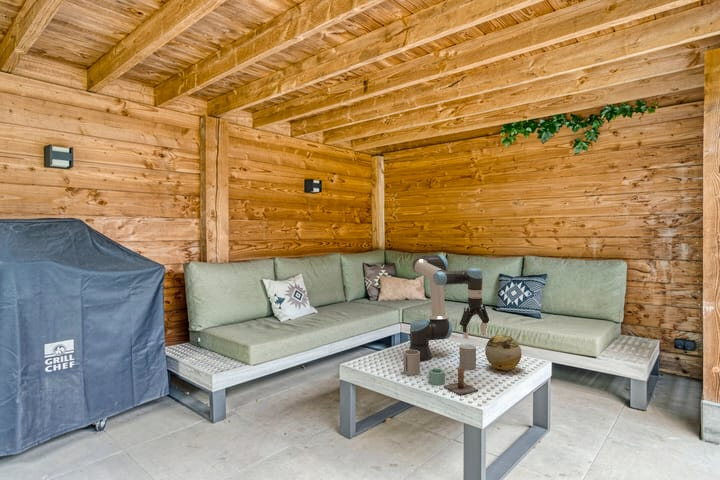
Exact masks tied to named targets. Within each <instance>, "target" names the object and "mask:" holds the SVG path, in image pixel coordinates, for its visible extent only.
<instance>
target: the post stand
mask: <svg viewBox="0 0 720 480" xmlns="http://www.w3.org/2000/svg"><path fill="white" fill-rule="evenodd" d="M443 389H444V390H447V389H448V390H447V391H449V392H452V393H453V392H454V393H453V394H455V393H456V394H455V395H457V394H458V395H457V396H459V395H460V396H459V397H462V396H461V395H463V396H466V395H469V393H470V394H474V393H477V392H479V389H478V388H476V387H474V386H472V385H470V384H467V383H465V370H464V368H463V367H457V382H455V383H451V384H447V385H444V386H443Z"/></svg>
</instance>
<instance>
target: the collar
mask: <svg viewBox="0 0 720 480" xmlns="http://www.w3.org/2000/svg"><path fill="white" fill-rule="evenodd" d="M445 373H446V370H445V369H443V368H437V367H436V368H435V367H434V368H429V369H428V384H431V385H433V386H443V385H445V382H446V381H445V379H446V378H445V377H446V374H445Z"/></svg>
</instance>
